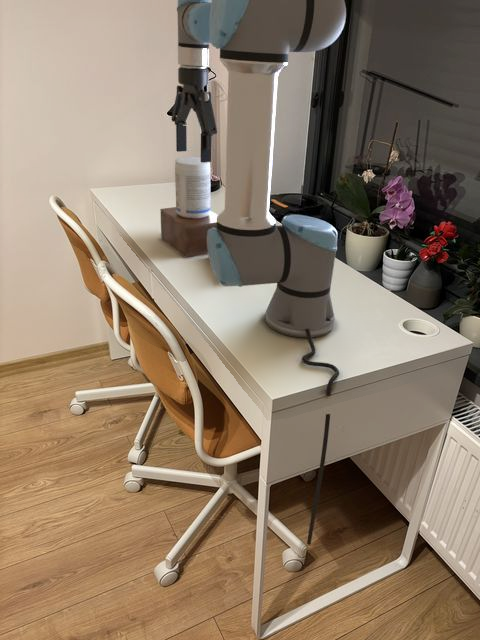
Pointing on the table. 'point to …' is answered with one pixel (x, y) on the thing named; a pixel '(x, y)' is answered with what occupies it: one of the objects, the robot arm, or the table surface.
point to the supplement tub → (192, 187)
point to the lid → (190, 219)
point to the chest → (184, 237)
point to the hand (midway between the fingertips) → (193, 156)
